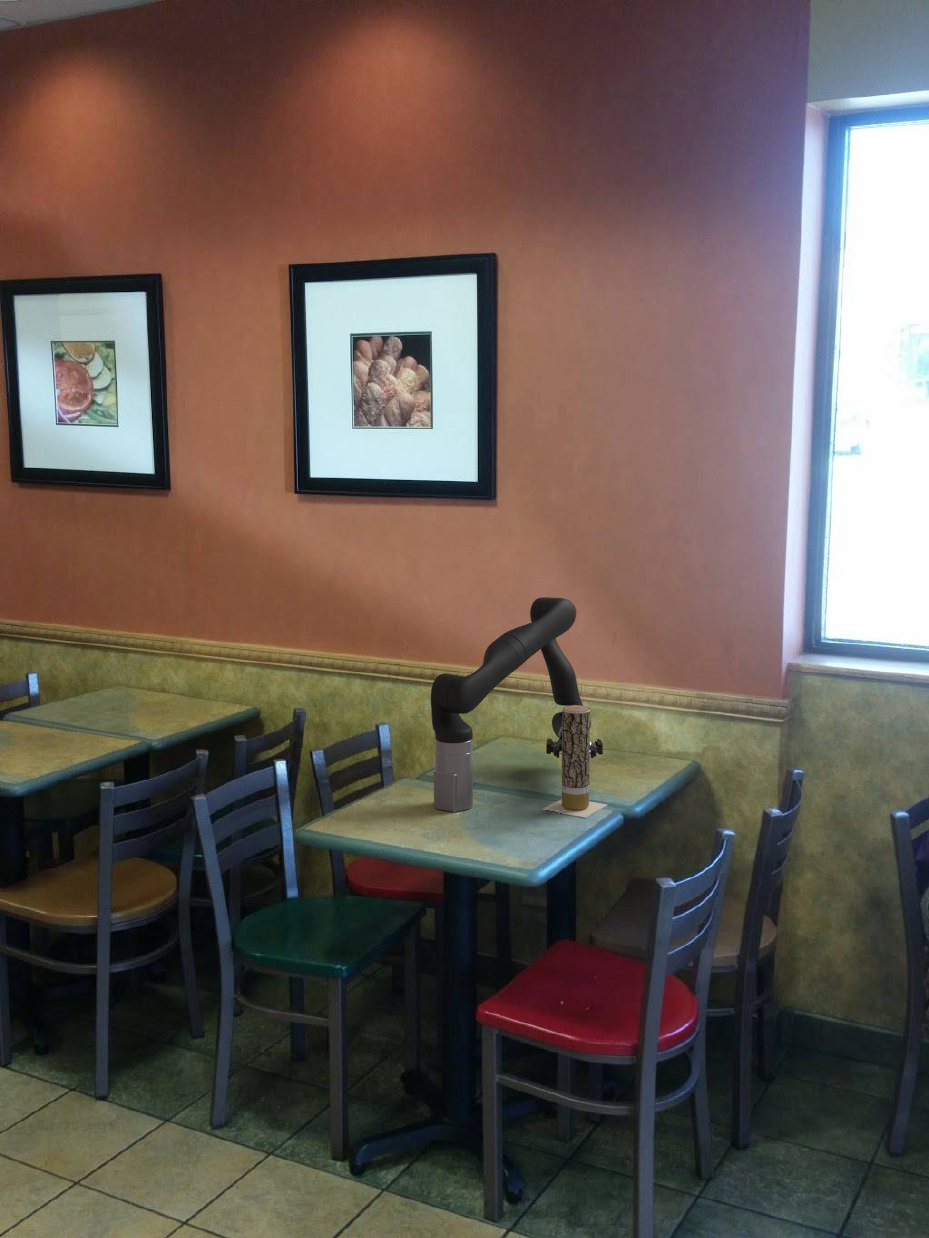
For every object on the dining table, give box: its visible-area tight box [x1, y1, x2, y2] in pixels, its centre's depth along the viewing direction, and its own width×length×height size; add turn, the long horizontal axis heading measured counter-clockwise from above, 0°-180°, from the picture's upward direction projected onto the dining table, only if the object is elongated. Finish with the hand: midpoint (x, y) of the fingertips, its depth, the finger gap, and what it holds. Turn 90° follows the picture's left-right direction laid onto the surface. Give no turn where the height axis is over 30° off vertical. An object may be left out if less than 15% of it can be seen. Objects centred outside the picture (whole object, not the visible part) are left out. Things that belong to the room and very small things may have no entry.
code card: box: [541, 798, 609, 819], centre depth 305 cm, size 12×12×1 cm
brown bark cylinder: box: [561, 705, 591, 810], centre depth 303 cm, size 7×7×25 cm
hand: (575, 754), depth 305 cm, fingers open, 8 cm apart
